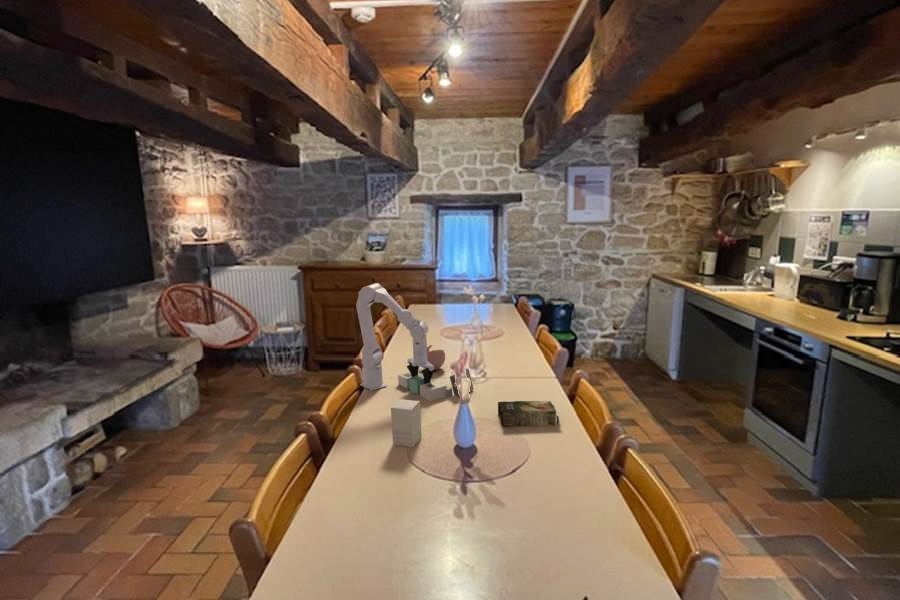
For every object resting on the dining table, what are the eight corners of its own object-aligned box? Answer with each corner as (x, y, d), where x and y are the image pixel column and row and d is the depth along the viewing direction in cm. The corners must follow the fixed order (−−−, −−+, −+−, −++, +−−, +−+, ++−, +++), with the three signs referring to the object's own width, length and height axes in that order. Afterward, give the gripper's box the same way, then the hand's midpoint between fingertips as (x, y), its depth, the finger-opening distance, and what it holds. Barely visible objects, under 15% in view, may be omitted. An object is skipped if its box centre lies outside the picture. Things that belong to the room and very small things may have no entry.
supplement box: (422, 437, 153) (420, 400, 150) (413, 447, 146) (411, 409, 144) (401, 434, 155) (400, 398, 153) (392, 444, 148) (390, 407, 146)
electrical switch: (460, 397, 185) (458, 375, 184) (450, 396, 188) (447, 373, 187) (474, 390, 192) (472, 368, 191) (464, 389, 195) (462, 367, 194)
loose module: (409, 391, 193) (409, 377, 192) (422, 387, 197) (422, 373, 196) (417, 394, 189) (417, 380, 188) (430, 390, 194) (429, 375, 193)
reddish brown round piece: (439, 363, 228) (438, 341, 226) (449, 370, 217) (449, 346, 215) (416, 367, 223) (415, 344, 221) (426, 375, 212) (425, 350, 210)
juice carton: (553, 413, 168) (553, 397, 167) (560, 426, 159) (560, 409, 157) (497, 416, 168) (497, 400, 167) (501, 428, 158) (501, 412, 157)
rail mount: (397, 384, 202) (396, 373, 201) (417, 378, 208) (416, 368, 207) (431, 402, 181) (431, 390, 180) (452, 395, 187) (452, 384, 186)
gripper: (401, 350, 193) (402, 381, 196) (424, 357, 183) (425, 390, 185) (414, 346, 198) (415, 377, 200) (437, 353, 188) (438, 385, 190)
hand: (421, 383), depth 193 cm, fingers open, 7 cm apart
